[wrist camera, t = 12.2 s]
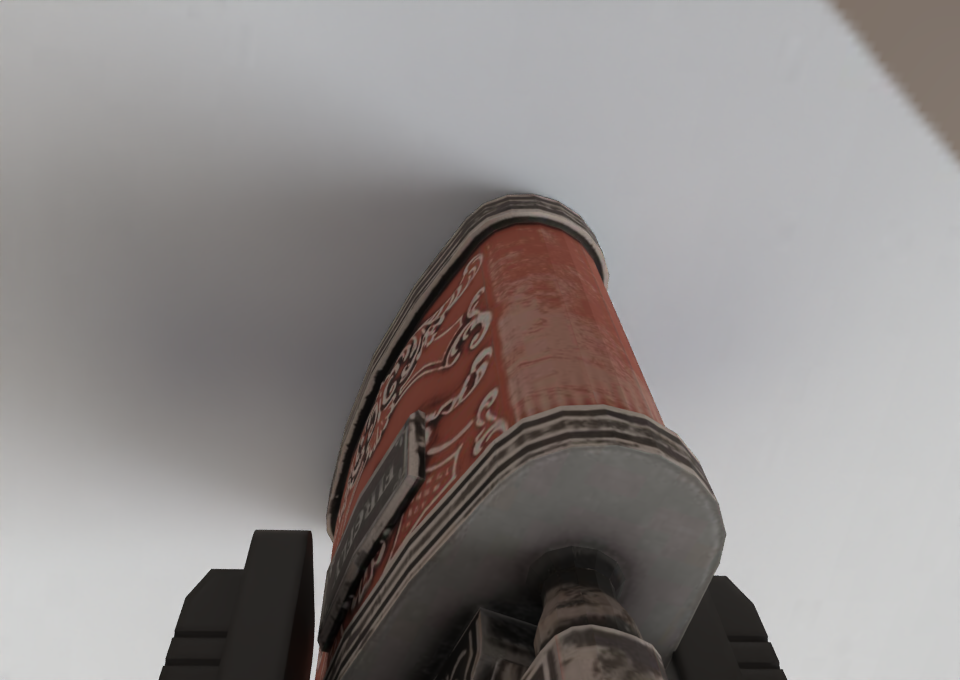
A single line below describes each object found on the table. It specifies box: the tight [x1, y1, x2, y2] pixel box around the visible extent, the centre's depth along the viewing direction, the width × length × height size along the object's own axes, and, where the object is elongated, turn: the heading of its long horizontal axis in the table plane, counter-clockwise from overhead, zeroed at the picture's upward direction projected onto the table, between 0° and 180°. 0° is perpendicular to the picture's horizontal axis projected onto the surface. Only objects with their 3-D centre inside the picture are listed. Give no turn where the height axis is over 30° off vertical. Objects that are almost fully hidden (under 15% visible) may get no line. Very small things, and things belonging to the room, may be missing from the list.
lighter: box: [315, 194, 726, 680], centre depth 12 cm, size 8×3×10 cm, turn 154°
